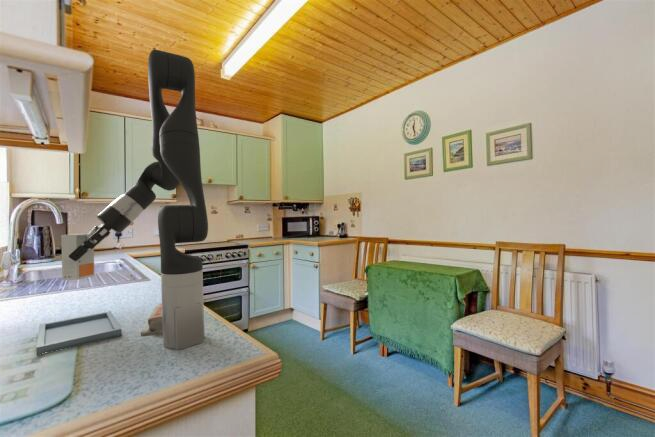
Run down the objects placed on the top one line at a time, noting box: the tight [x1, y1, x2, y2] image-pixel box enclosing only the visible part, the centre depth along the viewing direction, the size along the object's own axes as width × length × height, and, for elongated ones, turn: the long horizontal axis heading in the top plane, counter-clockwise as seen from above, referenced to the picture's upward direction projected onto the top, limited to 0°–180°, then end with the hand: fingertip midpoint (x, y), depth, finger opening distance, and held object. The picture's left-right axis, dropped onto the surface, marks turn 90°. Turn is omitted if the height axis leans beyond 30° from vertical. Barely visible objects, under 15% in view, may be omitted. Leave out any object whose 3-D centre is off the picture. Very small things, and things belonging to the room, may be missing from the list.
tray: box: [36, 310, 122, 356], centre depth 83 cm, size 20×16×2 cm
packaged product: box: [140, 302, 163, 337], centre depth 90 cm, size 18×5×10 cm
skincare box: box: [60, 233, 95, 281], centre depth 84 cm, size 6×4×12 cm
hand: (71, 257), depth 83 cm, fingers closed on skincare box, 7 cm apart
